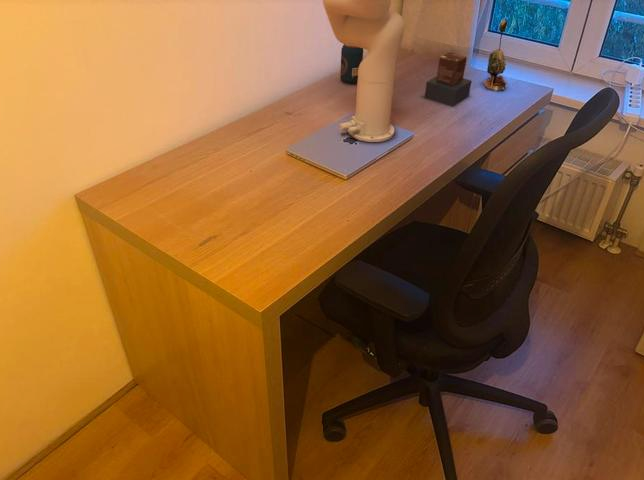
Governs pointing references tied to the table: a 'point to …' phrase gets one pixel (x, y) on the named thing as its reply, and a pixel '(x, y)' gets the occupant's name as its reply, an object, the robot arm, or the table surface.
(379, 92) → the robot arm
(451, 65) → the box
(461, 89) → the block
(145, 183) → the table surface
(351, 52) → the soda can
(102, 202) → the table surface
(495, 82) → the plant with pod
